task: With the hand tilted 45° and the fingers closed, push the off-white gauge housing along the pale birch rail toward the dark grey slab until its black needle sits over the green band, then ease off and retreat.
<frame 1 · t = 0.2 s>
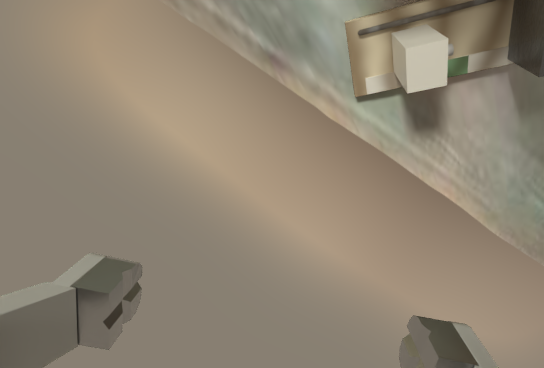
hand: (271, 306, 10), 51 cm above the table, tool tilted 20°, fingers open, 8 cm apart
gauge housing: (424, 64, 47), point 7 cm above the table, slide at 0.0 cm
dark grey slab: (517, 19, 48), resting on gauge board
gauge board: (433, 39, 51), on the table
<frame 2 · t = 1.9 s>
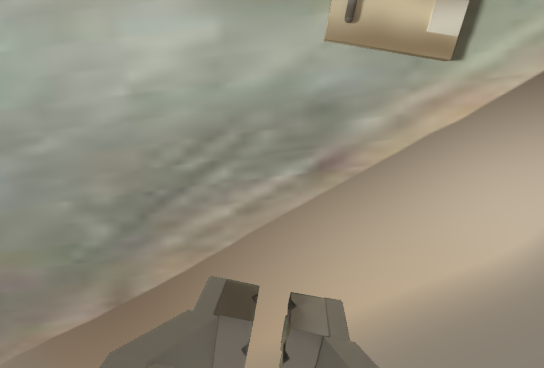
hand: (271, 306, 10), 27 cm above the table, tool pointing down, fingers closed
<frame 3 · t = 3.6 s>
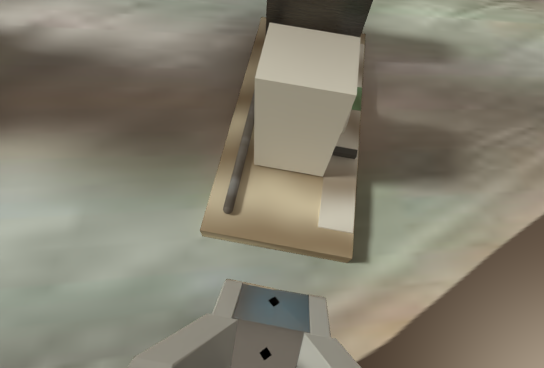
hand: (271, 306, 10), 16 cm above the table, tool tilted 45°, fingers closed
gauge housing: (318, 102, 25), point 7 cm above the table, slide at 0.0 cm
dark grey slab: (309, 45, 37), resting on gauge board
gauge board: (296, 123, 32), on the table
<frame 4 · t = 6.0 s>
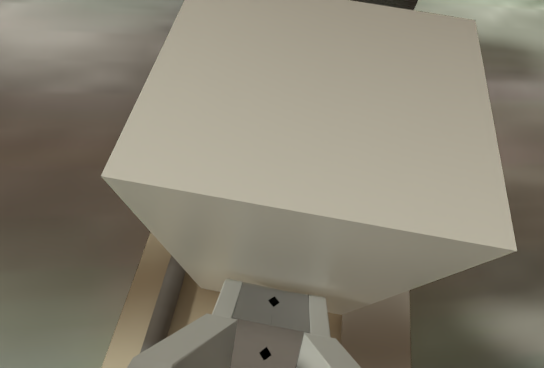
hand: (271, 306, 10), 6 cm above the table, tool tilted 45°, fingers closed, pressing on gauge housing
gauge housing: (335, 178, 11), point 7 cm above the table, slide at 0.7 cm, touching gripper
dark grey slab: (311, 52, 23), resting on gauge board
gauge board: (287, 196, 18), on the table
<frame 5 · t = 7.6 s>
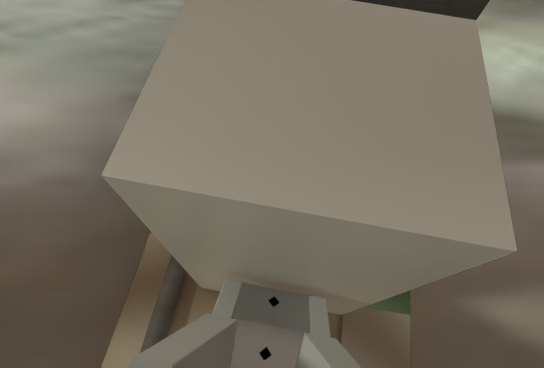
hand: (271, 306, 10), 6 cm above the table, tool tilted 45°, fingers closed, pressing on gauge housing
gauge housing: (335, 178, 11), point 7 cm above the table, slide at 7.5 cm, touching gripper
dark grey slab: (299, 127, 20), resting on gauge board
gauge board: (265, 328, 15), on the table
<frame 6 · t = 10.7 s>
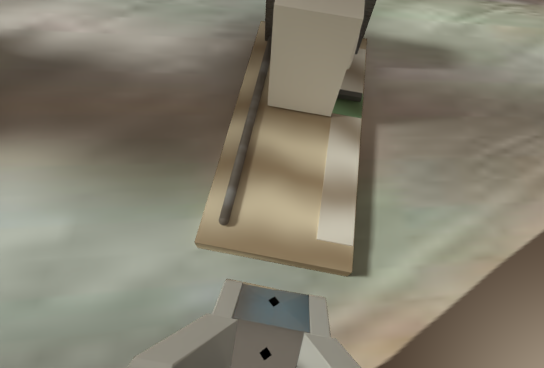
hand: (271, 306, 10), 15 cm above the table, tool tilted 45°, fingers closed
gauge housing: (327, 43, 27), point 7 cm above the table, slide at 7.5 cm
dark grey slab: (309, 50, 37), resting on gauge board
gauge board: (295, 130, 31), on the table
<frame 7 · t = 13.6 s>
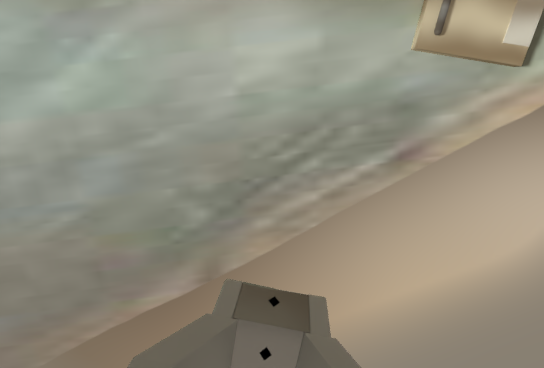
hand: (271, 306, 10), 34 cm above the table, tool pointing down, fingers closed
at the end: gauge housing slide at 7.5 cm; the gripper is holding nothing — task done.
